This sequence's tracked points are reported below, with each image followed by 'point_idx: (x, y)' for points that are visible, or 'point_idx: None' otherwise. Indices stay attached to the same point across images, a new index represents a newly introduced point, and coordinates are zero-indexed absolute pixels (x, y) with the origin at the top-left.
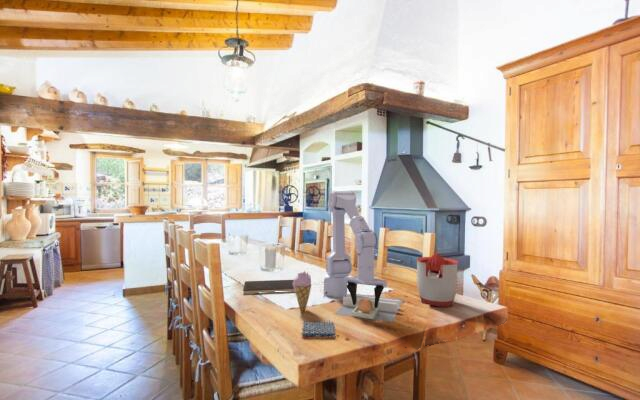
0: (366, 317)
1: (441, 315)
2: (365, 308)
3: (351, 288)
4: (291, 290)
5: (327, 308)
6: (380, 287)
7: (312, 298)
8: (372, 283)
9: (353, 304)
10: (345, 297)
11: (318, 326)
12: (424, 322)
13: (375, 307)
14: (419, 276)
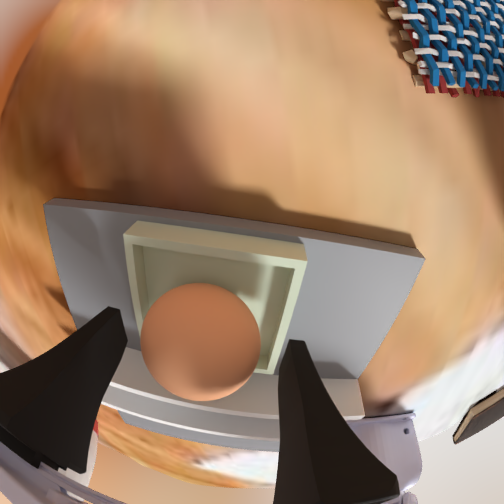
0: (183, 228)
1: (10, 330)
2: (183, 292)
3: (339, 479)
4: (483, 405)
5: (428, 342)
6: (2, 427)
7: (449, 395)
8: (24, 489)
9: (300, 341)
10: (351, 416)
11: (478, 17)
12: (3, 271)
13: (112, 309)
14: (61, 469)
